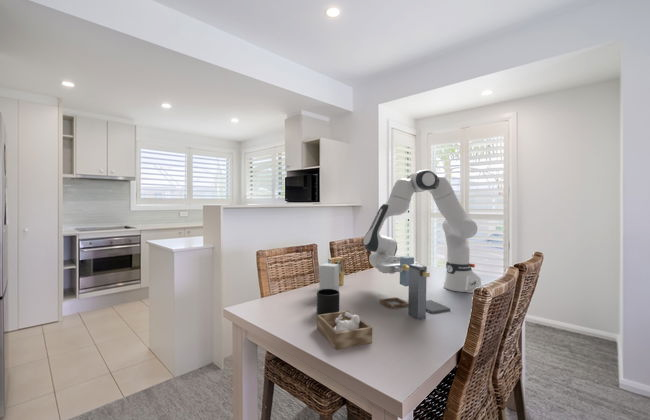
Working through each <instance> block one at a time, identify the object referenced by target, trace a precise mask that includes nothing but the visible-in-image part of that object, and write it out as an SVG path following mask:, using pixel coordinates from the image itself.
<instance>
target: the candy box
mask: <svg viewBox="0 0 650 420" xmlns="http://www.w3.org/2000/svg"><path fill="white" fill-rule="evenodd" d="M327 263H329V264H339V286H344V282H345V281H344V280H345V279H344V278H345V258H344V257H343V256H342V257H341V256H336V257H331V258H330V257H329V258H327Z"/></svg>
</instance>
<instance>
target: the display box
mask: <svg viewBox="0 0 650 420" xmlns="http://www.w3.org/2000/svg"><path fill="white" fill-rule="evenodd" d="M346 312H348V313H350V314H352V315H355V314H354V313H353V312H352V311H351V310H344V311H343V310H342V311H339V312H335V313H328V314H321V315H318V314H317V315H316V328H317V330H318V332H320V333H321V334H322V336H324V338H325V339H326V340H327V341H328V342H329V343H330V344H331V345H332V347H333V348H334V349H335V350H341V349H345V348H346V349H347V348H350V347H356V346H357V347H358V346H360V345H361V346H363V345H365V344H372V343H373V327H372V326H371V325H370V324H368V323H366V321H364V320H362V319H361V318H360V317H359V320H360V323H359V329H355V330H349V331H344V332H337V331H336V330H335V329H334V328H335V326H336V325H337V323H336V322H335V319H336V318H338V317H339V316H340V314H342V316H341V317H343V318H342V319H340V320H341V321H343V320H351V319H352V318H350V317H347V316H345V313H346Z"/></svg>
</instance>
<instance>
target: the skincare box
mask: <svg viewBox="0 0 650 420" xmlns="http://www.w3.org/2000/svg"><path fill="white" fill-rule="evenodd" d="M318 274H319V275H318V279H319V280H318V282H319V284H318V285H319V290H322V289H334V290H337V291H339V292H340V285H339V264H329V263H328V262H326V263H325V262H324V263H322V264H320V265H318Z"/></svg>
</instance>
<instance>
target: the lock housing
mask: <svg viewBox="0 0 650 420" xmlns="http://www.w3.org/2000/svg"><path fill="white" fill-rule="evenodd" d="M427 267H428V266H426V265H422V264H419V263H418V264H409V286H408V300H407V301H408V302H407V303H408V306H407V308H408V309H407V311H408V312H407V314H408V315H409V316H410V317H412V318H415V320H423V319H426V318H427V311H426V301H427V278H428V277H425V276H422V275H421V270H422V271H426V272H428V271H427V269H428V268H427Z"/></svg>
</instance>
